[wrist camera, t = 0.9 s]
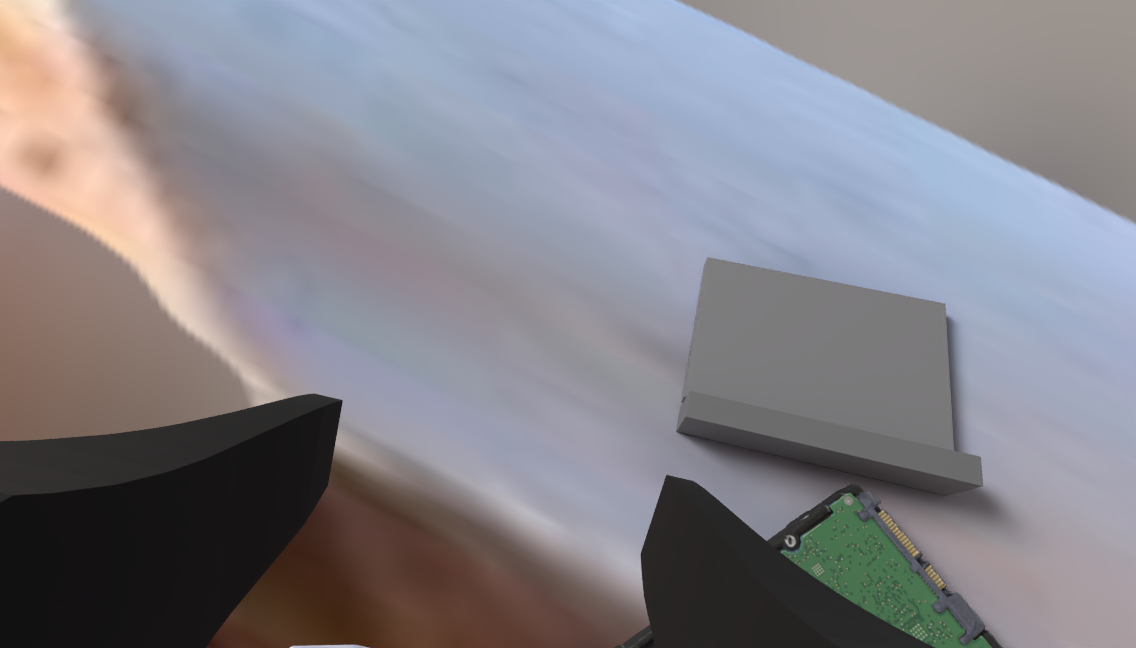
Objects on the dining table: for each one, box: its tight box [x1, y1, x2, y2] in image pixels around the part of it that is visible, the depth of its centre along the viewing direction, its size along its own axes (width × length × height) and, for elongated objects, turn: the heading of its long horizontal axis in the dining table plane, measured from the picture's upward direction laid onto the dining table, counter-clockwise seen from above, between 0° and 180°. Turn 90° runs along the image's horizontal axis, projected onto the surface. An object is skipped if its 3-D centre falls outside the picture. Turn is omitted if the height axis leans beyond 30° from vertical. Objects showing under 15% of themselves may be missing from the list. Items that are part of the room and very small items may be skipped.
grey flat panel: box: [676, 257, 983, 496], centre depth 21 cm, size 30×12×2 cm, turn 166°
